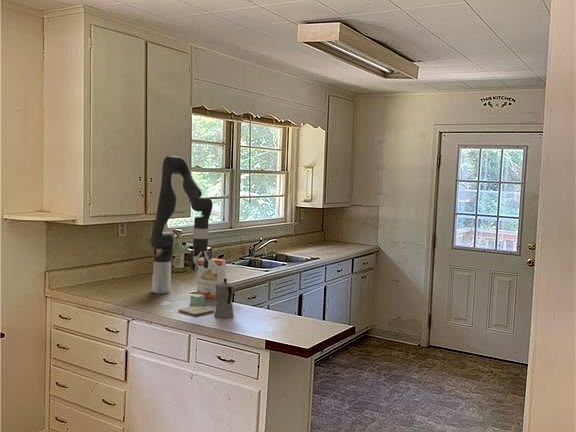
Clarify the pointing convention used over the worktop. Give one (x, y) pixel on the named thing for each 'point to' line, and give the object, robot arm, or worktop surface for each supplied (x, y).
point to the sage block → (197, 300)
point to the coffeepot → (224, 300)
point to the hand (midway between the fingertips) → (199, 269)
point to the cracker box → (210, 276)
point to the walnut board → (196, 311)
